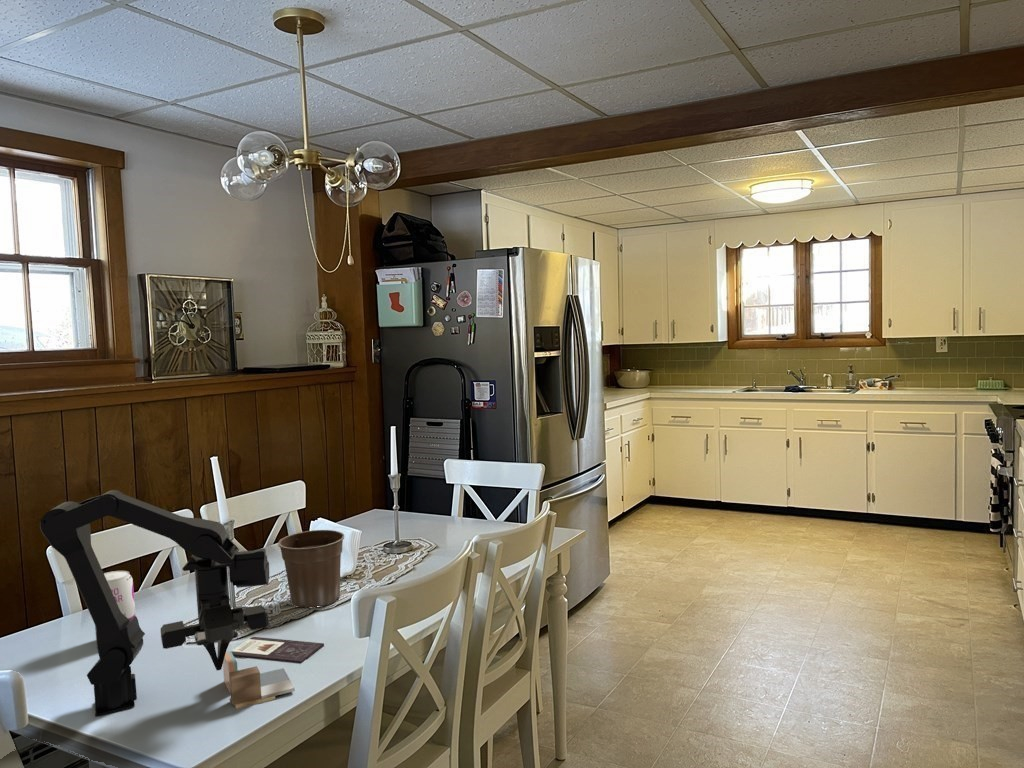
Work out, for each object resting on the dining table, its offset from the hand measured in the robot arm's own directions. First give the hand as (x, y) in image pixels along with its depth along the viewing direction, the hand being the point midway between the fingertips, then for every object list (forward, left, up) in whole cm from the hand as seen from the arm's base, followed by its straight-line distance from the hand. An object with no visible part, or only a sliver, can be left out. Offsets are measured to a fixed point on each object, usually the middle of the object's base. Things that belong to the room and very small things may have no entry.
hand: (218, 669), depth 147 cm
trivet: (+8, 0, -5) cm, 9 cm away
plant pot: (+28, +41, -5) cm, 50 cm away
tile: (+2, +2, -5) cm, 5 cm away
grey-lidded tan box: (+7, -6, -4) cm, 10 cm away
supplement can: (-17, +41, -5) cm, 44 cm away
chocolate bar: (+13, +14, -5) cm, 20 cm away
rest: (+5, -6, -5) cm, 9 cm away
